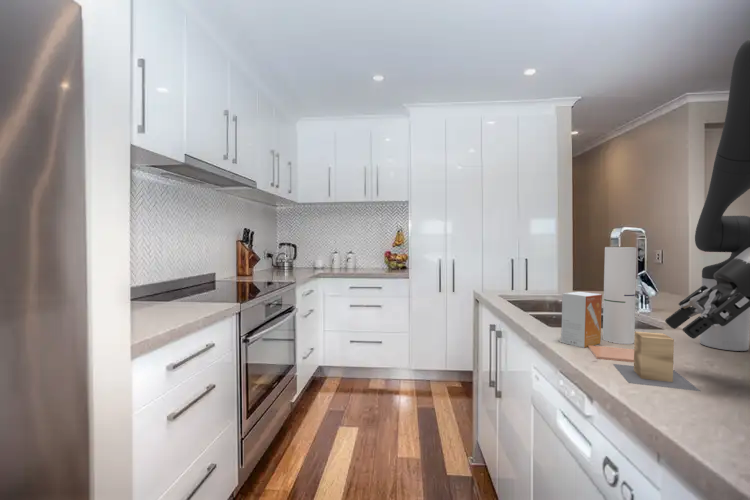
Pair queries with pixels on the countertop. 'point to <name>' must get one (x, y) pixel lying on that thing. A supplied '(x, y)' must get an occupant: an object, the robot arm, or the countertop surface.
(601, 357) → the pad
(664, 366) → the maple block
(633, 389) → the countertop surface
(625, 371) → the mat
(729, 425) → the countertop surface
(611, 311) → the cylindrical container
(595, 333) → the small box
